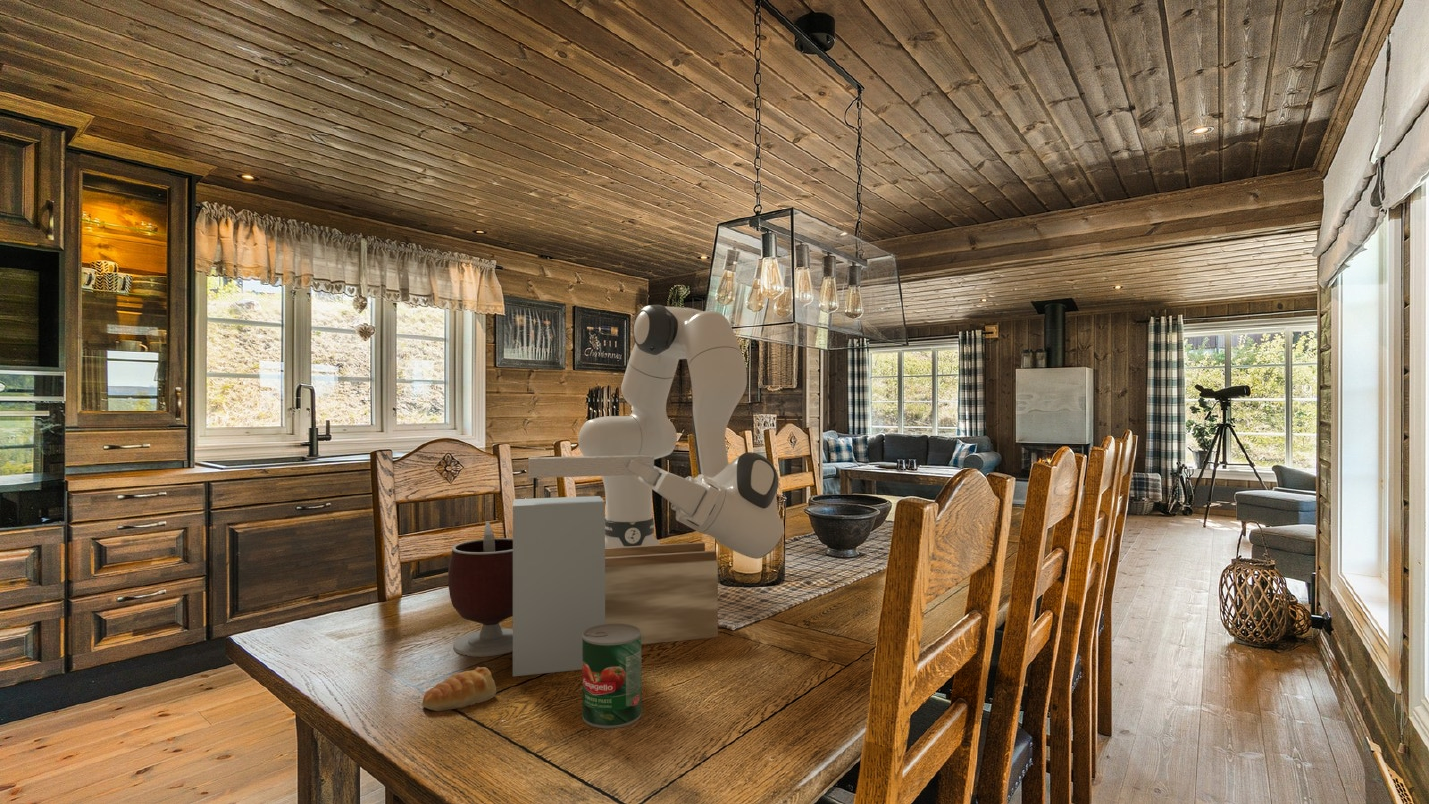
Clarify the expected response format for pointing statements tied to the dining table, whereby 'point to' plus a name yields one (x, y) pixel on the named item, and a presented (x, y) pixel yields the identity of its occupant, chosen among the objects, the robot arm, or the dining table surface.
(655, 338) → the robot arm
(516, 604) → the grey tall block
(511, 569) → the mate gourd
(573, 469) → the bar
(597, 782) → the dining table surface
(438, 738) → the dining table surface
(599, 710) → the canned tomato
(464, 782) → the dining table surface
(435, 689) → the pastry
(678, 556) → the cradle block
